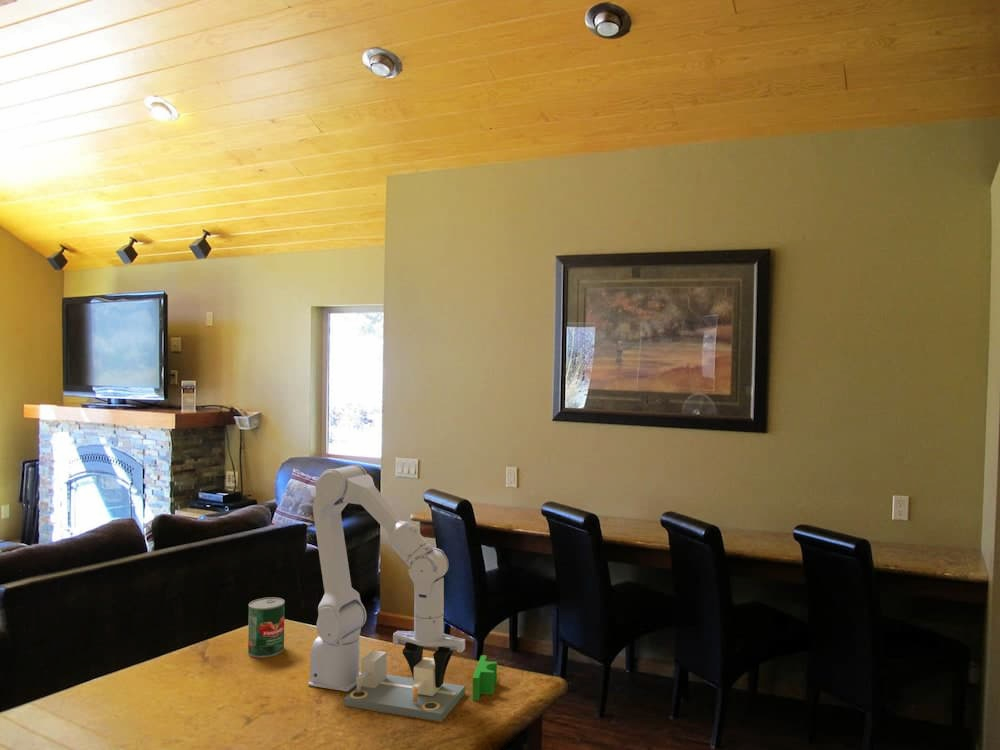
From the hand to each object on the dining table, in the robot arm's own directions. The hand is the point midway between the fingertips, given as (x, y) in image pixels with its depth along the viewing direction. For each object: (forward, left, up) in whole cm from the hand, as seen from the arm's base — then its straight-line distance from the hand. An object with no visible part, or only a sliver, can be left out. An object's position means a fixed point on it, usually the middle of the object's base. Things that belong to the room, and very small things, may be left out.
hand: (428, 683), depth 132 cm
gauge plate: (-4, -2, -3) cm, 5 cm away
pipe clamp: (+9, +8, -3) cm, 12 cm away
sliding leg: (0, -2, -1) cm, 2 cm away
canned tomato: (-45, +10, -3) cm, 46 cm away
